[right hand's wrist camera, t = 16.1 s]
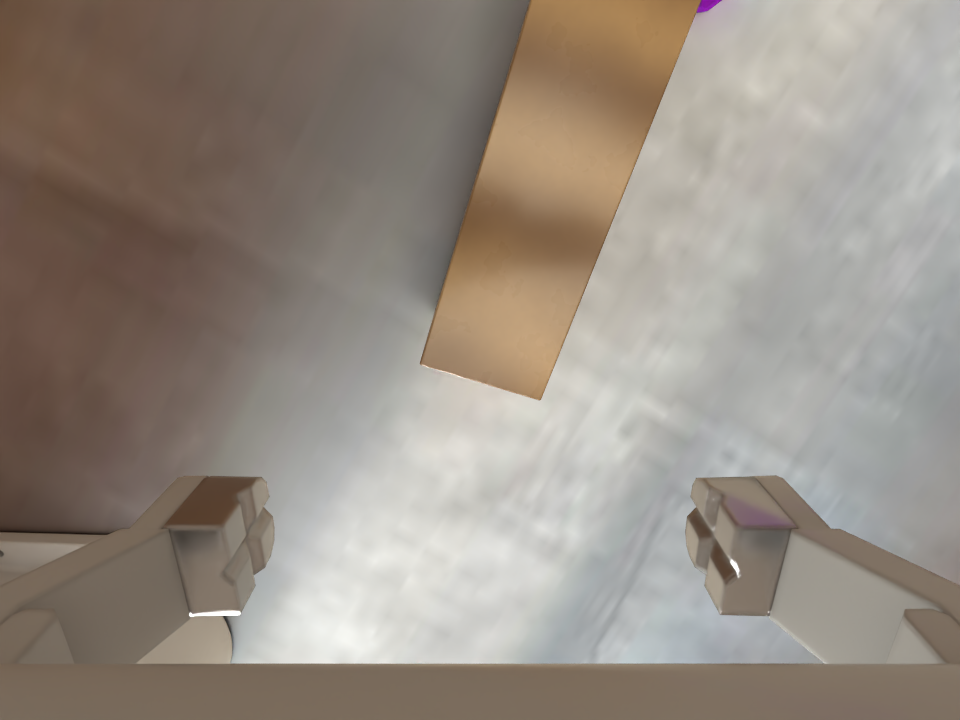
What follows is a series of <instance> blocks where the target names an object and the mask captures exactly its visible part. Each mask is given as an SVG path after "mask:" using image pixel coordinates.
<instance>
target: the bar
mask: <svg viewBox="0 0 960 720" xmlns="http://www.w3.org/2000/svg"><path fill="white" fill-rule="evenodd" d="M700 2H701V0H530V1H529V4H528V8H527V11H526V14H525V17H524V21H523V24H522V27H521V31H520V34H519V37H518V40H517V44H516V47H515V50H514V54H513V57H512V60H511V63H510V67H509V70H508V73H507V76H506V80H505V83H504V86H503V90H502V93H501V96H500V99H499V103H498V106H497V109H496V112H495V116H494V119H493V122H492V126H491V129H490V132H489V135H488V139H487V142H486V145H485V149H484V152H483V155H482V158H481V162H480V165H479V168H478V171H477V175H476V178H475V181H474V185H473V188H472V191H471V194H470V198H469V201H468V204H467V208H466V211H465V214H464V217H463V221H462V224H461V227H460V230H459V234H458V237H457V240H456V244H455V247H454V250H453V253H452V257H451V260H450V263H449V266H448V270H447V273H446V276H445V280H444V283H443V286H442V289H441V293H440V296H439V299H438V303H437V306H436V309H435V312H434V316H433V319H432V323H431V326H430V330H429V333H428V337H427V340H426V344H425V347H424V350H423V354H422V357H421V361H420V365H423V366H426V367H429V368H433V369H436V370H439V371H443V372H446V373H450V374H453V375H456V376H460V377H463V378H466V379H470V380H473V381H476V382H480V383H483V384H486V385H490V386H493V387H496V388H500V389H503V390H506V391H510V392H513V393H516V394H520V395H523V396H527V397H530V398H533V399H537V400H541V398H542V396H543V393H544V391H545V388H546V386H547V383H548V381H549V378H550V376H551V373H552V371H553V368H554V366H555V363H556V361H557V358H558V356H559V353H560V351H561V348H562V346H563V343H564V341H565V338H566V336H567V333H568V331H569V328H570V326H571V323H572V321H573V318H574V316H575V313H576V311H577V308H578V306H579V303H580V301H581V298H582V296H583V293H584V291H585V288H586V286H587V283H588V281H589V278H590V276H591V273H592V271H593V268H594V266H595V264H596V261H597V259H598V256H599V254H600V251H601V249H602V246H603V244H604V241H605V239H606V236H607V234H608V231H609V229H610V226H611V224H612V221H613V219H614V216H615V214H616V211H617V209H618V206H619V204H620V201H621V199H622V196H623V194H624V191H625V189H626V186H627V184H628V181H629V179H630V176H631V174H632V171H633V169H634V166H635V164H636V161H637V159H638V156H639V154H640V151H641V149H642V146H643V144H644V141H645V139H646V136H647V134H648V131H649V129H650V126H651V124H652V121H653V119H654V116H655V114H656V112H657V109H658V107H659V104H660V102H661V99H662V97H663V94H664V92H665V89H666V87H667V84H668V82H669V79H670V77H671V74H672V72H673V69H674V67H675V64H676V62H677V59H678V57H679V54H680V52H681V49H682V47H683V44H684V42H685V39H686V37H687V34H688V32H689V29H690V27H691V24H692V22H693V19H694V17H695V14H696V12H697V9H698V7H699V4H700Z"/></svg>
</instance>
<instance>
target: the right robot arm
mask: <svg viewBox="0 0 960 720" xmlns="http://www.w3.org/2000/svg"><path fill="white" fill-rule="evenodd" d="M269 497H270V496H269V491H268V486H267V482H266V481H265V480H264V479H263V478H262V477H235V476H210V477H209V476H183V477H179V478H177V479H176V480H175V481H174V482H173V483H172V484H171V485H170V486H169V487H168V488H167V489H166V490H165V492H164V493H163V494H162V495H161V496H160V497H159V498H158V499H157V500H156V501H155V502H154V503H153V504H152V505H151V506H150V507H149V508H148V509H147V510H146V511H145V513H144V514H143V515H142V516H141V517H140V518H139V519H138V520H137V521H136V522H135V523H134V524H133V525H132V526H131V527H130V528H129V529H119V530H117V531H115V532H113V533H110V534H108V535H86V534H50V533H15V532H0V720H960V586H959V585H957V584H955V583H953V582H951V581H949V580H947V579H945V578H943V577H940V576H938V575H936V574H934V573H932V572H930V571H928V570H926V569H924V568H921V567H919V566H917V565H915V564H913V563H911V562H909V561H907V560H905V559H902V558H900V557H898V556H896V555H894V554H892V553H890V552H888V551H886V550H883V549H881V548H879V547H877V546H875V545H873V544H871V543H869V542H866V541H864V540H862V539H860V538H858V537H856V536H854V535H852V534H850V533H847V532H845V531H843V530H841V529H831V528H830V527H829V526H828V525H827V524H826V523H825V522H824V521H823V520H822V519H821V518H820V517H819V516H818V515H817V514H816V512H815V511H814V510H813V509H812V508H811V507H810V506H809V505H808V504H807V503H806V502H805V501H804V500H803V499H802V498H801V497H800V496H799V495H798V494H797V492H796V491H795V490H794V489H793V488H792V487H791V486H790V485H789V484H788V483H787V482H786V481H785V480H784V479H783V478H781V477H779V476H776V475H775V476H750V477H715V478H696V479H695V481H694V483H693V485H692V490H691V496H690V497H691V499H692V500H693V502H694V504H695V505H696V508H695V509H694V510H693V511H692V512H691V513H690V514H689V515H688V516H687V521H686V529H685V535H686V546H687V549H688V553H689V556H690V559H691V561H692V563H693V565H694V567H695V568H696V569H698V570H699V571H701V572H702V573H704V574H705V575H706V580H705V585H704V586H705V588H706V590H707V591H708V593H709V595H710V597H711V599H712V601H713V603H714V605H715V606H716V608H717V610H718V612H719V614H720V615H747V616H770V617H769V619H771V620H772V621H773V622H774V623H776V624H777V625H778V626H779V627H780V628H782V629H783V630H784V631H785V632H787V633H788V634H789V635H790V636H792V637H793V638H794V639H795V640H796V641H798V642H799V643H800V644H801V645H803V646H804V647H805V648H806V649H808V650H809V651H810V652H811V653H812V654H814V655H815V656H816V657H817V658H819V659H820V660H821V661H822V662H823V663H825V664H230V662H231V658H232V639H231V634H230V631H229V628H228V625H227V623H226V621H225V619H224V617H223V616H222V615H240V614H241V612H242V610H243V608H244V607H245V605H246V603H247V601H248V599H249V597H250V595H251V593H252V591H253V590H254V588H255V586H256V585H255V580H254V575H255V574H256V573H258V572H259V571H261V570H262V569H264V568H265V567H266V565H267V563H268V560H269V558H270V556H271V553H272V549H273V544H274V531H275V527H274V521H273V516H272V515H271V514H270V513H269V512H268V511H267V510H266V509H265V508H264V505H265V504H266V502H267V500H268V499H269Z"/></svg>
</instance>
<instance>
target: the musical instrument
mask: <svg viewBox="0 0 960 720" xmlns="http://www.w3.org/2000/svg"><path fill="white" fill-rule="evenodd" d="M720 1H721V0H701V2H700V4H699V7H698V9H697V13H699V12H705V11H708V10H710V9H711V8H712V7H713V6H715V5H716V4H717V3H719V2H720Z"/></svg>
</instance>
